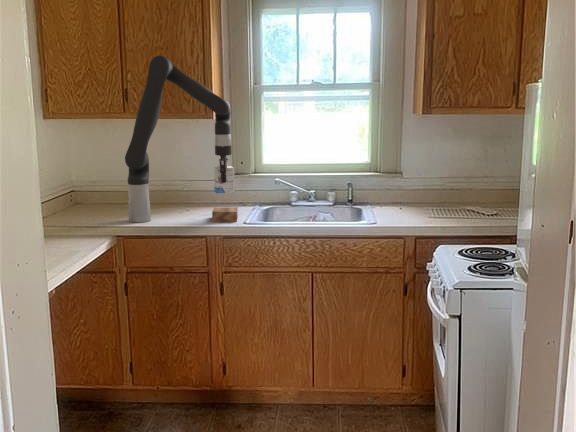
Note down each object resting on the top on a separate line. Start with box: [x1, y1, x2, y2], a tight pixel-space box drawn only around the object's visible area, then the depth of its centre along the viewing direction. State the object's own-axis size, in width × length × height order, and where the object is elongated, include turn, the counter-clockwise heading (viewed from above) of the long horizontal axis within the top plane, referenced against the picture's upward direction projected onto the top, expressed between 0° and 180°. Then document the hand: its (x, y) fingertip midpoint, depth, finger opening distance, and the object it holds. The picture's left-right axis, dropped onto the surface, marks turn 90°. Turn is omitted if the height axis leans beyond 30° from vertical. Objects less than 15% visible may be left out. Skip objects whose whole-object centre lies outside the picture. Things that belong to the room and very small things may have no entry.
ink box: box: [213, 165, 235, 194], centre depth 265 cm, size 9×5×12 cm, turn 105°
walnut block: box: [211, 206, 239, 223], centre depth 268 cm, size 11×11×5 cm
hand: (224, 181), depth 265 cm, fingers closed on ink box, 5 cm apart
